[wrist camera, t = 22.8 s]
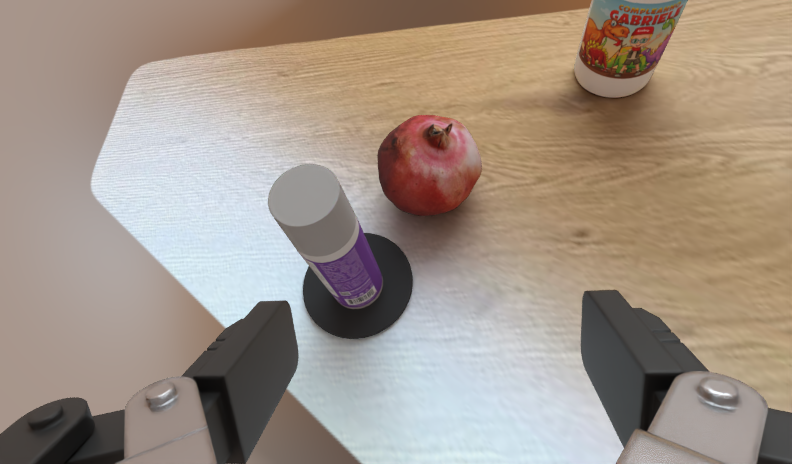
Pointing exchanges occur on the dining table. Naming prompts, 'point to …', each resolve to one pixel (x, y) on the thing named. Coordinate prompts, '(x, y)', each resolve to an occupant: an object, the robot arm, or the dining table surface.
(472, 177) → the fruit
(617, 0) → the milk bottle
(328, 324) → the coaster
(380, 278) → the container
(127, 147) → the dining table surface
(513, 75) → the dining table surface
